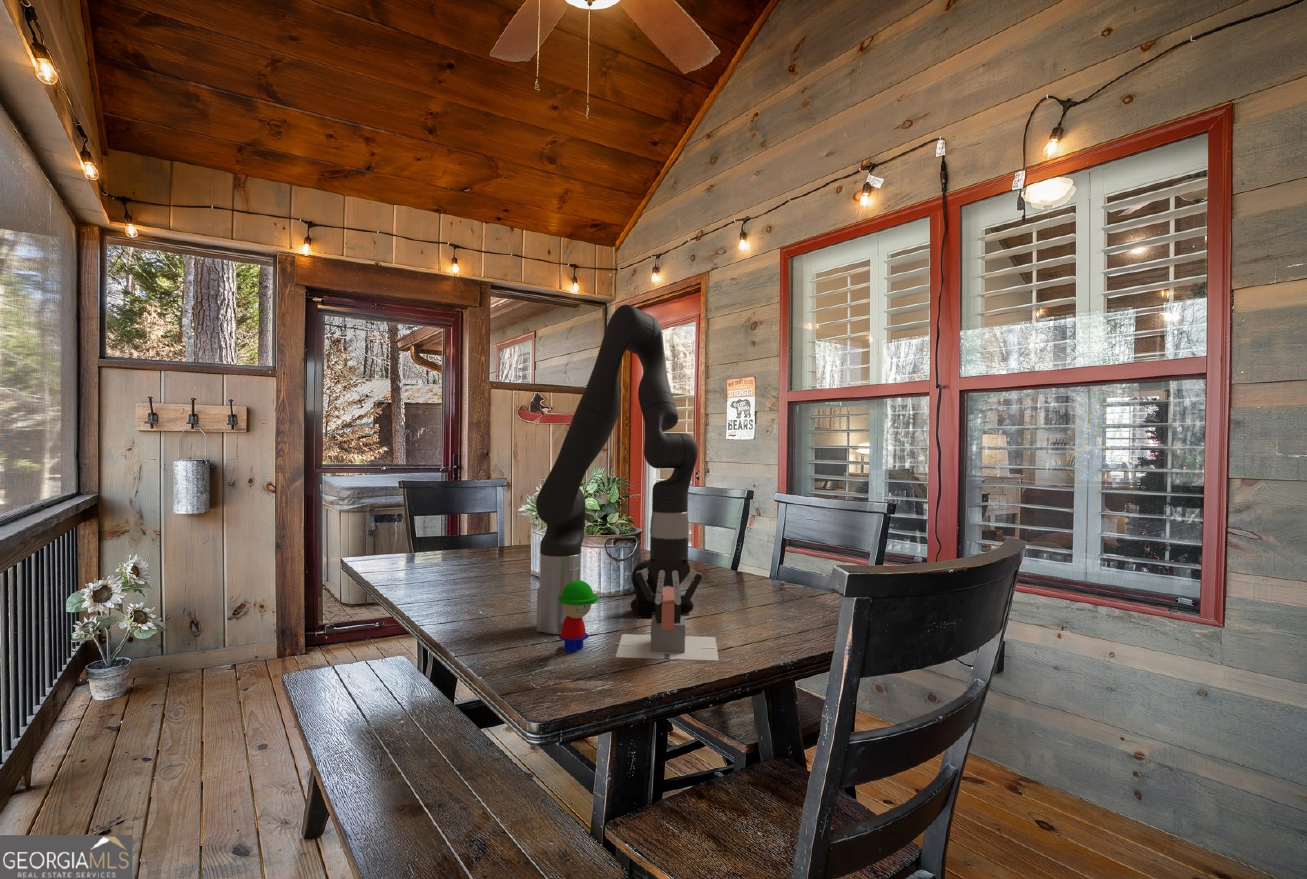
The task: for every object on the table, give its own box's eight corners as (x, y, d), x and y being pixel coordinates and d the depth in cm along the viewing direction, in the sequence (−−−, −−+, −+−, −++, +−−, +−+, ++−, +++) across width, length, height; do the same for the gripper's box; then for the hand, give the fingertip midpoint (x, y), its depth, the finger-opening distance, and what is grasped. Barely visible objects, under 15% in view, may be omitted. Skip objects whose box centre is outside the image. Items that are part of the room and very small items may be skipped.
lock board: (615, 663, 127) (615, 631, 127) (622, 639, 142) (622, 611, 142) (718, 666, 126) (719, 634, 126) (715, 642, 141) (715, 613, 141)
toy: (580, 665, 126) (581, 586, 126) (548, 657, 130) (550, 581, 130) (604, 654, 132) (605, 579, 132) (574, 647, 137) (575, 575, 137)
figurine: (665, 625, 154) (666, 561, 154) (618, 615, 162) (619, 554, 162) (700, 611, 167) (701, 552, 167) (655, 603, 175) (656, 546, 175)
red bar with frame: (652, 636, 141) (653, 587, 141) (684, 637, 141) (685, 588, 141) (649, 657, 127) (650, 603, 127) (684, 658, 127) (685, 604, 127)
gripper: (704, 532, 133) (702, 618, 133) (635, 531, 133) (634, 616, 133) (705, 537, 125) (703, 629, 125) (632, 536, 126) (631, 626, 126)
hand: (667, 622), depth 129 cm, fingers closed on red bar with frame, 2 cm apart
